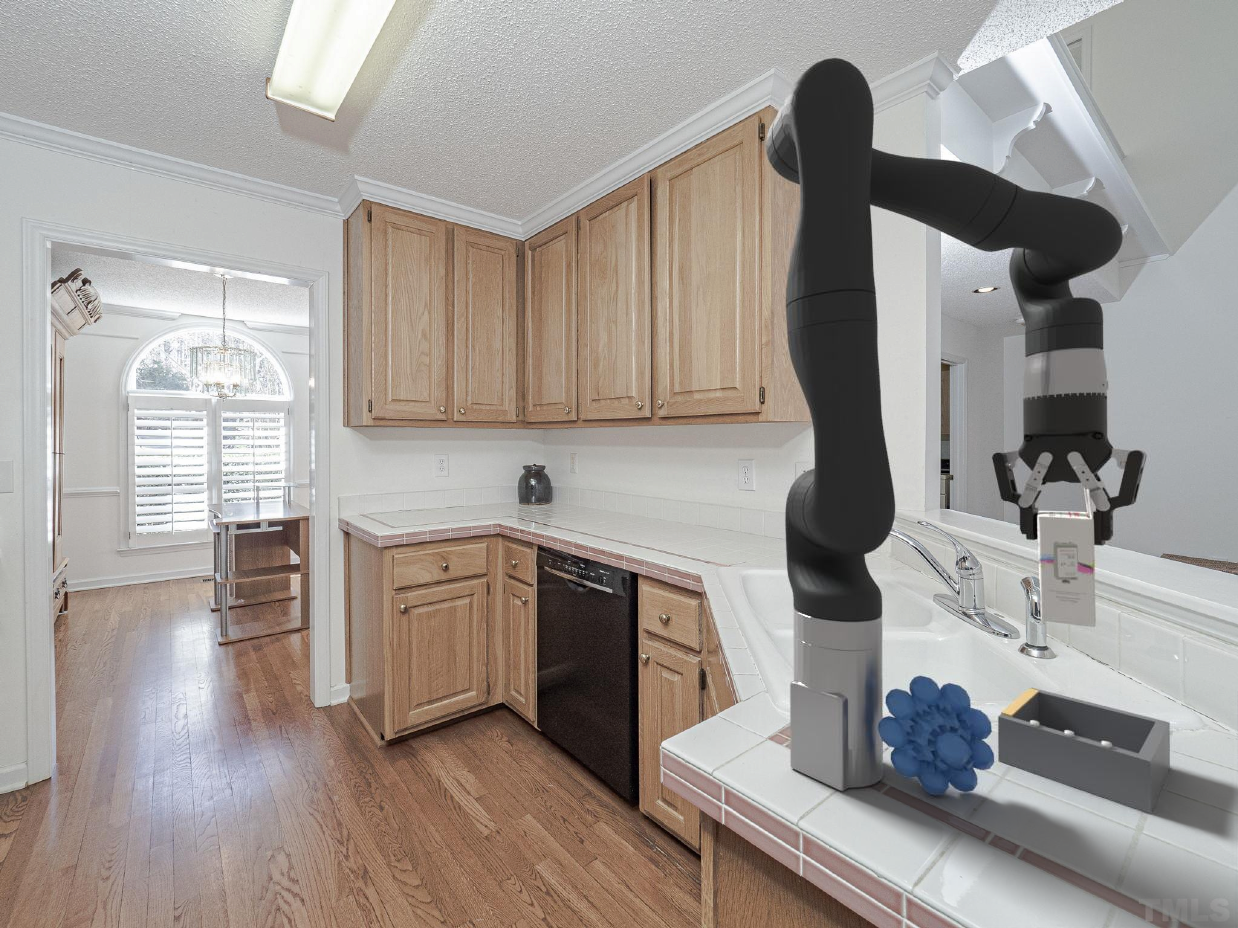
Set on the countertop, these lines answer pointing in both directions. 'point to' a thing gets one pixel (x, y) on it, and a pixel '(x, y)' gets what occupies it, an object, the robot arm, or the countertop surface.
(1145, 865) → the countertop surface
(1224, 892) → the countertop surface
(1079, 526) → the ink cartridge box
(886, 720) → the blue flower
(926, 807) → the countertop surface
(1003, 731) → the cartridge dock
